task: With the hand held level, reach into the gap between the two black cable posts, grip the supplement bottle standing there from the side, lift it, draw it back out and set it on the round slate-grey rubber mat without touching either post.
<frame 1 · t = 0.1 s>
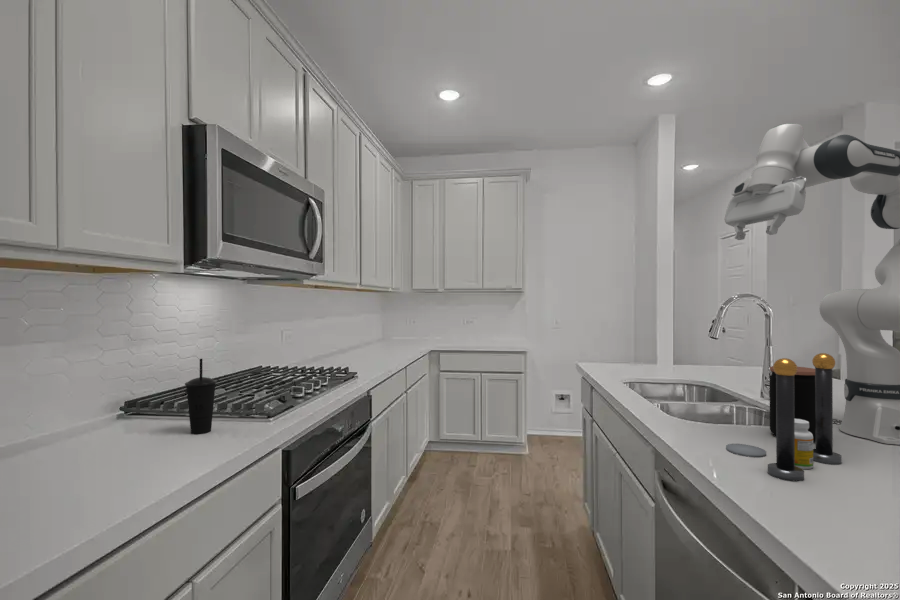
hand: (754, 236, 114), 52 cm above the worktop, tool tilted 20°, fingers open, 8 cm apart
drinking cup: (200, 432, 124), on the worktop
coffee jar: (794, 437, 119), on the worktop
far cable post: (824, 459, 102), on the worktop
slate mat: (745, 451, 108), on the worktop
supplement bottle: (797, 466, 99), on the worktop
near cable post: (785, 475, 93), on the worktop
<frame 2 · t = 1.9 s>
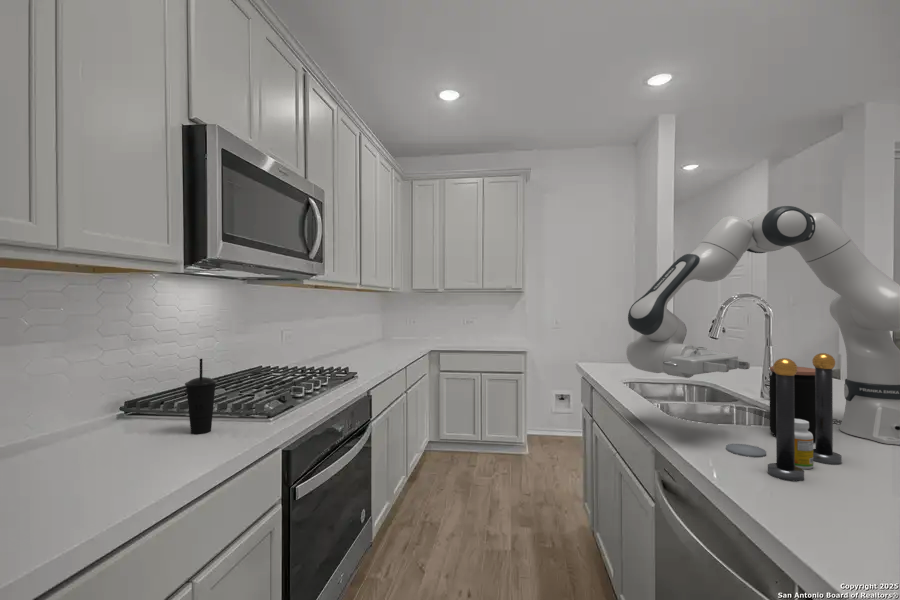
hand: (738, 367, 109), 20 cm above the worktop, tool horizontal, fingers open, 8 cm apart
nothing on the worktop moved.
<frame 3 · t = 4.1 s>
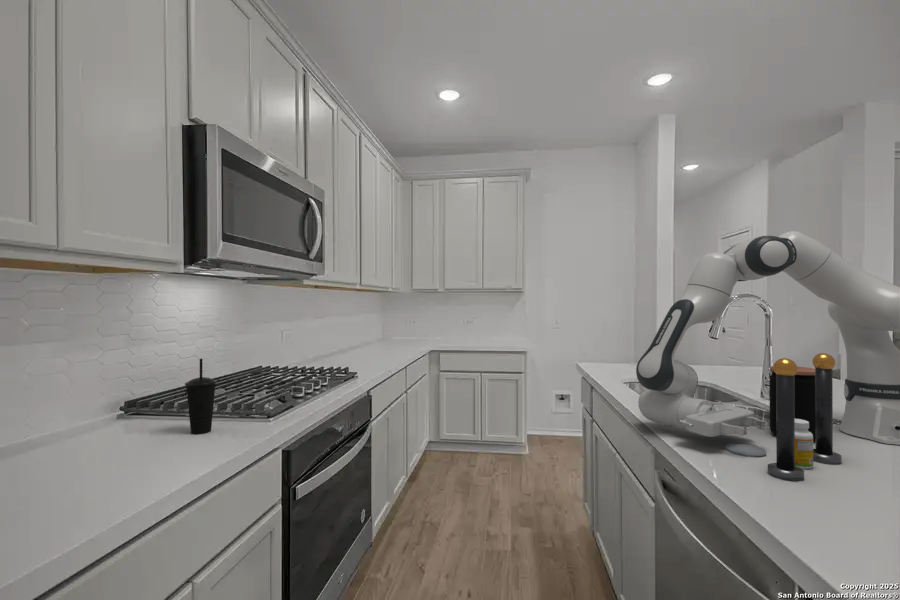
hand: (756, 428, 106), 6 cm above the worktop, tool horizontal, fingers open, 8 cm apart
nothing on the worktop moved.
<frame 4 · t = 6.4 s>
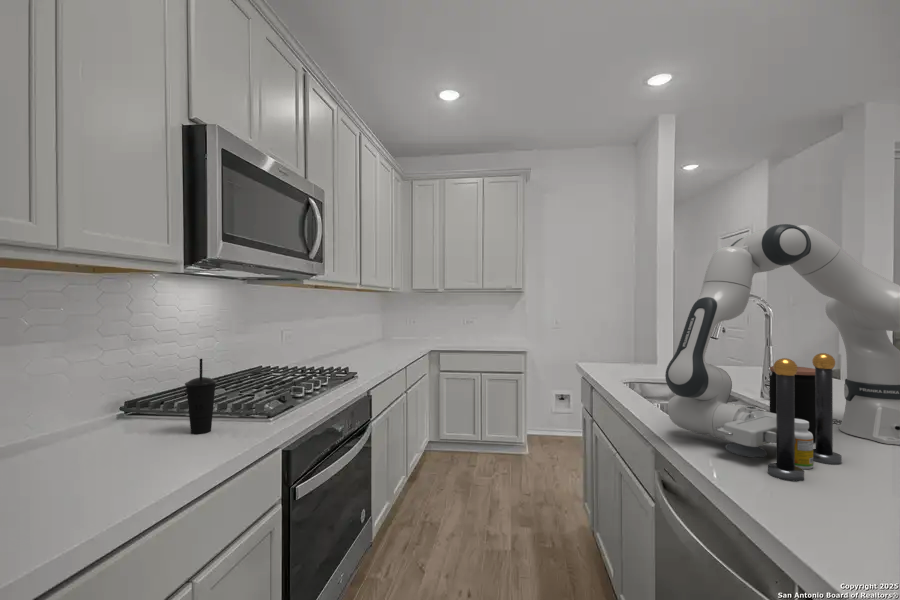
hand: (802, 438, 98), 6 cm above the worktop, tool horizontal, fingers closed on supplement bottle, 5 cm apart
supplement bottle: (797, 466, 99), on the worktop, touching gripper
everything else where it was.
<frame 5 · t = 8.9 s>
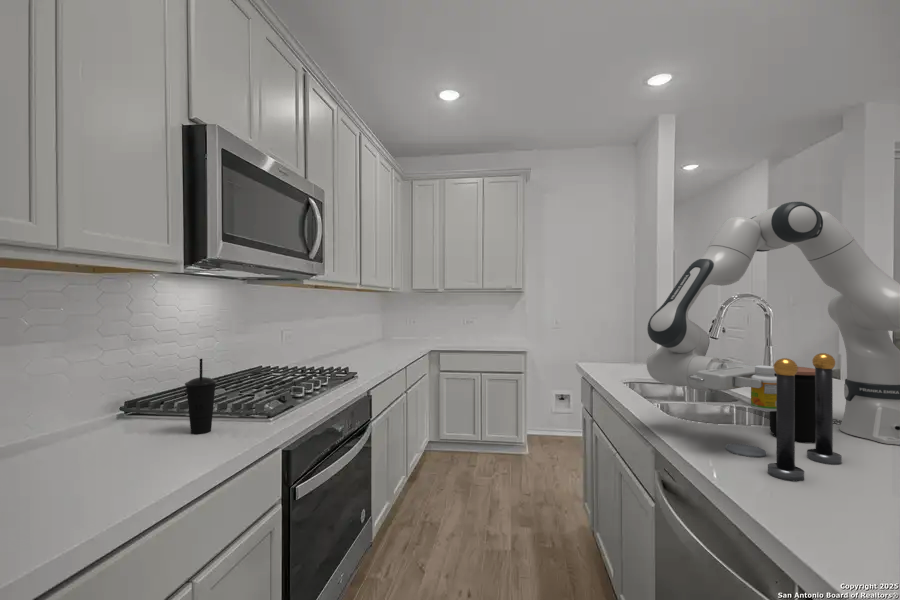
hand: (769, 382, 103), 17 cm above the worktop, tool horizontal, fingers closed on supplement bottle, 5 cm apart
supplement bottle: (764, 409, 104), point 11 cm above the worktop, touching gripper
everything else where it was.
when the fingers open (7 cm above the worktop, at t = 11.7 s): supplement bottle stays where it is, resting on slate mat.
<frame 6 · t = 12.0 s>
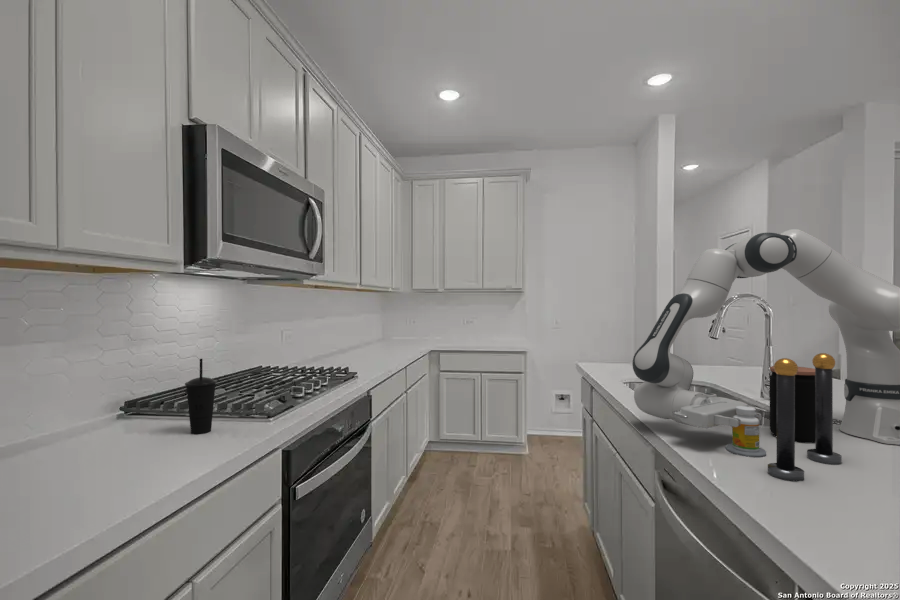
hand: (749, 420, 107), 8 cm above the worktop, tool horizontal, fingers open, 8 cm apart
supplement bottle: (745, 449, 108), resting on slate mat
everything else where it was.
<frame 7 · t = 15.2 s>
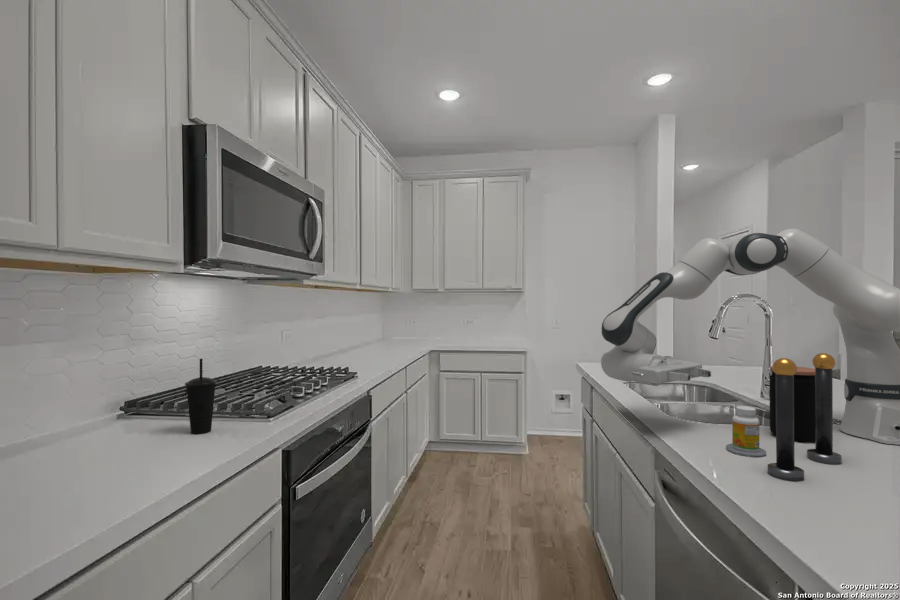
hand: (699, 375, 118), 16 cm above the worktop, tool horizontal, fingers open, 8 cm apart
nothing on the worktop moved.
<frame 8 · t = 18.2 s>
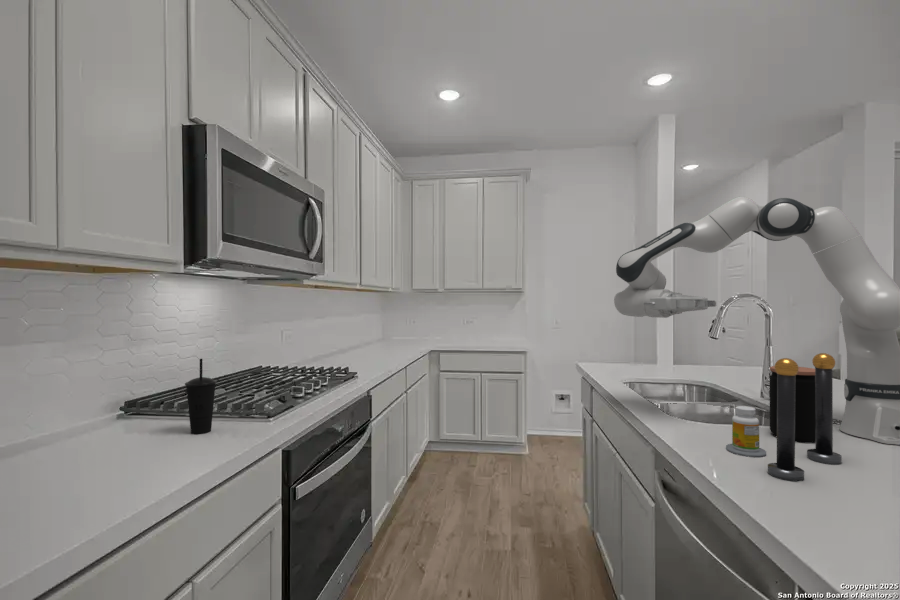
hand: (705, 303, 129), 35 cm above the worktop, tool horizontal, fingers open, 8 cm apart
nothing on the worktop moved.
at the end: supplement bottle 0.1 cm off-centre on the slate mat, point 0.4 cm above the slate mat's base; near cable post moved 0.0 cm from its start; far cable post moved 0.0 cm from its start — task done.
